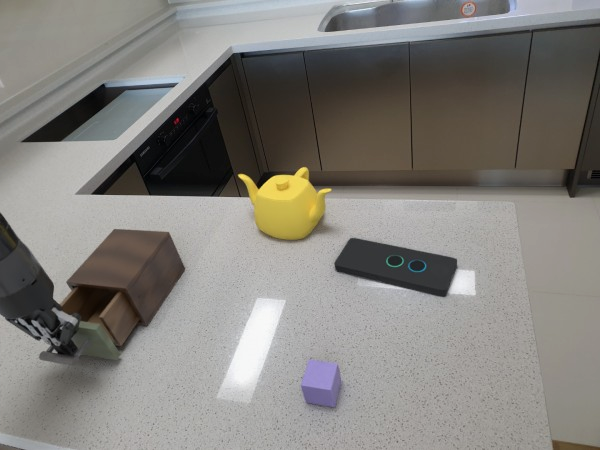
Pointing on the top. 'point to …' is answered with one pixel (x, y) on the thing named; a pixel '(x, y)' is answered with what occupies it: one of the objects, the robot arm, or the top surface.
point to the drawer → (96, 324)
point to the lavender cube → (321, 383)
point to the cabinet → (133, 269)
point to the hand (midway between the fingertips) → (70, 354)
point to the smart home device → (397, 266)
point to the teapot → (287, 205)
